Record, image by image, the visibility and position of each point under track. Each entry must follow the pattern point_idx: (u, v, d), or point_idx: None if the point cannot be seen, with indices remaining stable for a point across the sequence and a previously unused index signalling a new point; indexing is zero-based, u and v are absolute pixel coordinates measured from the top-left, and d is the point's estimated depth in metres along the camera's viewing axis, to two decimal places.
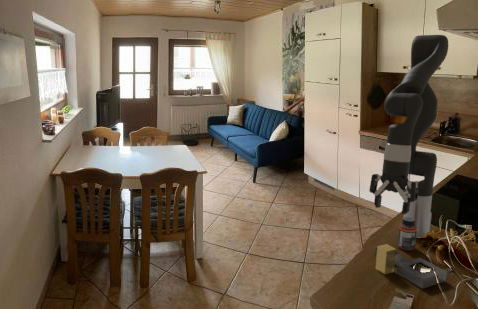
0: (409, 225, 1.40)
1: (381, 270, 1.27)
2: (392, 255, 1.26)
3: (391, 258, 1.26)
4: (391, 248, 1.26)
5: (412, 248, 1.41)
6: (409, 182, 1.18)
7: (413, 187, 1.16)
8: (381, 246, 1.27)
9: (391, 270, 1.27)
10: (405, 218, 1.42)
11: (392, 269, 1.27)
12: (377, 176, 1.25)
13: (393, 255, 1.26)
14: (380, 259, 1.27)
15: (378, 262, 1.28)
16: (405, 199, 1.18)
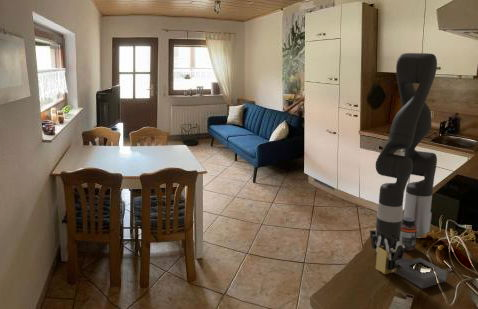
0: (409, 225, 1.40)
1: (381, 270, 1.27)
2: (392, 255, 1.26)
3: None
4: (391, 248, 1.26)
5: (412, 248, 1.41)
6: (398, 243, 1.21)
7: (398, 250, 1.21)
8: (381, 246, 1.27)
9: (391, 270, 1.27)
10: (405, 218, 1.42)
11: None
12: (374, 232, 1.30)
13: None
14: (380, 259, 1.27)
15: (378, 262, 1.28)
16: (389, 257, 1.24)
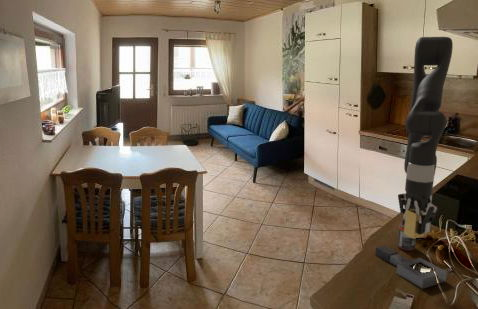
0: None
1: (410, 234, 1.21)
2: (422, 218, 1.20)
3: None
4: (421, 211, 1.20)
5: (412, 248, 1.41)
6: (429, 205, 1.15)
7: (429, 212, 1.15)
8: None
9: (420, 234, 1.21)
10: None
11: (422, 234, 1.21)
12: (403, 195, 1.24)
13: None
14: (409, 223, 1.21)
15: (407, 226, 1.22)
16: (419, 220, 1.18)
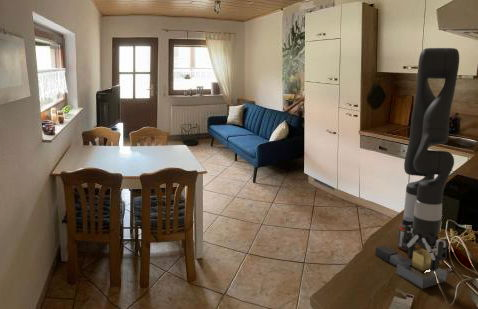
0: None
1: None
2: (429, 260, 1.21)
3: (428, 263, 1.21)
4: (428, 253, 1.22)
5: None
6: (437, 241, 1.17)
7: (440, 247, 1.15)
8: (417, 251, 1.23)
9: None
10: (405, 218, 1.42)
11: None
12: (410, 228, 1.26)
13: (430, 260, 1.21)
14: (417, 265, 1.22)
15: (414, 267, 1.23)
16: (433, 257, 1.18)
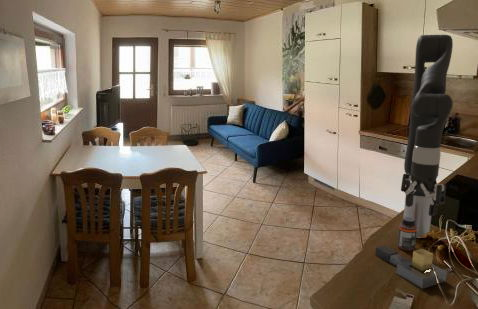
0: (409, 225, 1.40)
1: None
2: (429, 260, 1.21)
3: (428, 263, 1.21)
4: (428, 253, 1.22)
5: (412, 248, 1.41)
6: (436, 185, 1.16)
7: (438, 190, 1.15)
8: (417, 251, 1.23)
9: None
10: (405, 218, 1.42)
11: None
12: (408, 176, 1.25)
13: (430, 260, 1.21)
14: (417, 265, 1.22)
15: (414, 267, 1.23)
16: (431, 201, 1.17)
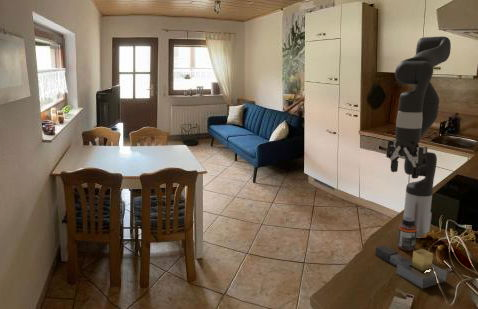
0: (409, 225, 1.40)
1: None
2: (429, 260, 1.21)
3: (428, 263, 1.21)
4: (428, 253, 1.22)
5: (412, 248, 1.41)
6: (418, 148, 1.22)
7: (420, 152, 1.21)
8: (417, 251, 1.23)
9: None
10: (405, 218, 1.42)
11: None
12: (393, 142, 1.31)
13: (430, 260, 1.21)
14: (417, 265, 1.22)
15: (414, 267, 1.23)
16: (414, 164, 1.23)
